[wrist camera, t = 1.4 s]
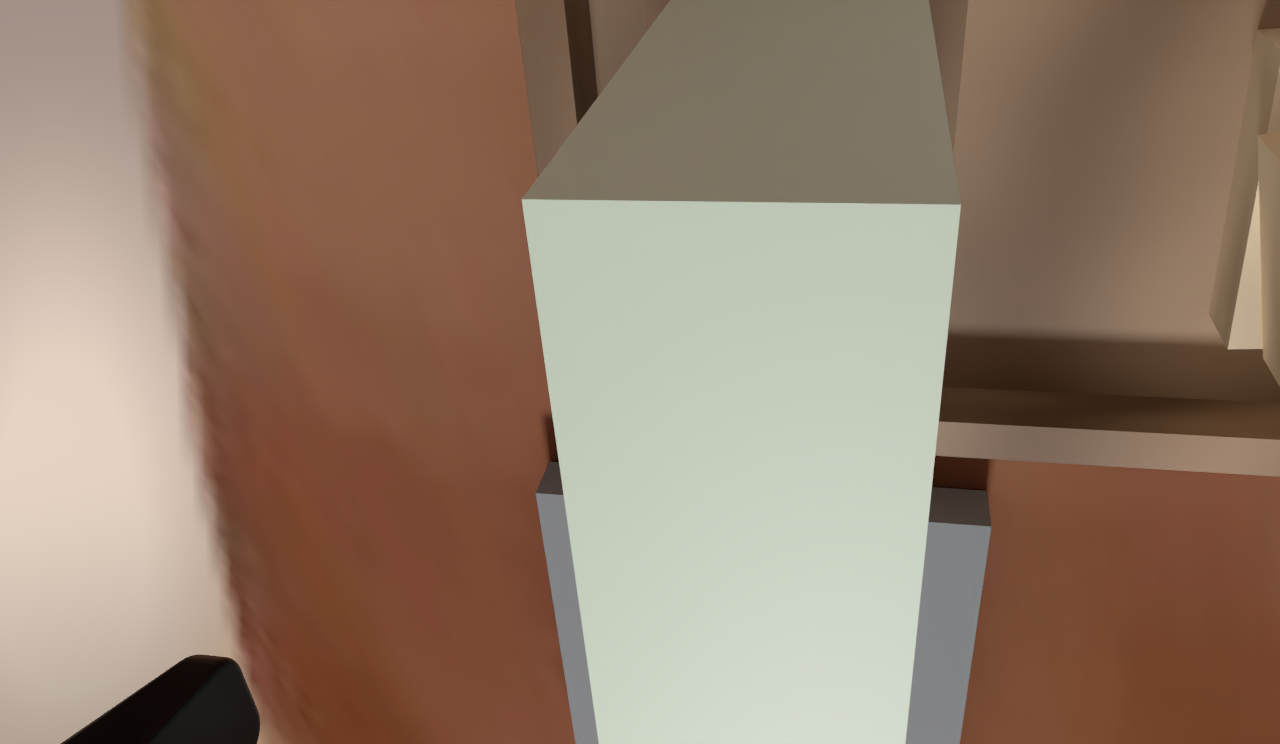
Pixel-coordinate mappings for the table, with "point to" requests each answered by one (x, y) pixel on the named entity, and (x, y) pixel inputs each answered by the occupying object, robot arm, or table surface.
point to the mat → (941, 622)
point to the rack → (1051, 218)
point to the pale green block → (751, 367)
